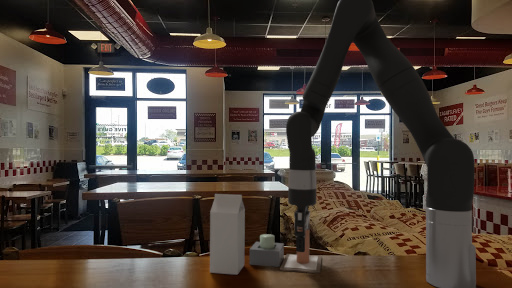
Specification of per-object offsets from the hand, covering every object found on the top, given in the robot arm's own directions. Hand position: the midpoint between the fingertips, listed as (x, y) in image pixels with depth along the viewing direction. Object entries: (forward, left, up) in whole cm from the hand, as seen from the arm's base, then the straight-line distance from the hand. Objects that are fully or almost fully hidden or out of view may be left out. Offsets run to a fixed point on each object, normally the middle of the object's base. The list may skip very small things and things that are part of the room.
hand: (302, 247), depth 93 cm
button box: (+10, 0, -4) cm, 10 cm away
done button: (+10, 0, -3) cm, 10 cm away
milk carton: (+18, +9, -5) cm, 21 cm away
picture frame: (0, 0, -4) cm, 4 cm away
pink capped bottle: (0, 0, -4) cm, 4 cm away
